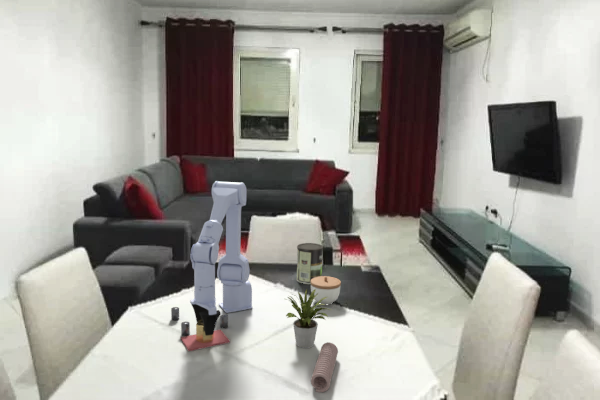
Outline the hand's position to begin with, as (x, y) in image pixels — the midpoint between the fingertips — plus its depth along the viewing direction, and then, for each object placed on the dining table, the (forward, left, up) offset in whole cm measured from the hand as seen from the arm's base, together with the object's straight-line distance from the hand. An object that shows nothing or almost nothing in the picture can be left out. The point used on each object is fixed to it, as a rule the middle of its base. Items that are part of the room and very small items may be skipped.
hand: (205, 329), depth 137 cm
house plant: (-24, +15, -4) cm, 28 cm away
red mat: (0, 0, -4) cm, 4 cm away
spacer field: (-2, -12, -4) cm, 13 cm away
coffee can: (-53, -32, -4) cm, 62 cm away
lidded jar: (-47, -10, -4) cm, 48 cm away
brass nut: (0, 0, -3) cm, 3 cm away
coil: (-22, +30, -4) cm, 38 cm away
